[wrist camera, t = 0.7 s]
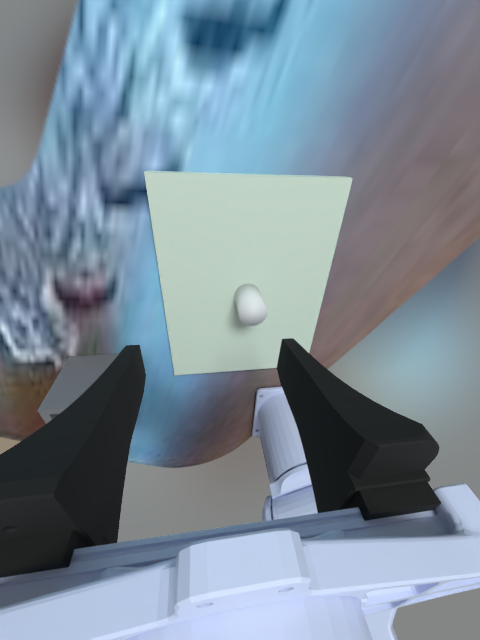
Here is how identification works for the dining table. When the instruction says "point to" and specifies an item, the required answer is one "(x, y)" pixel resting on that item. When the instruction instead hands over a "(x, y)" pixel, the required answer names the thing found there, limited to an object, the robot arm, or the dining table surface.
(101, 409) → the robot arm
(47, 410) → the duct sleeve
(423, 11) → the dining table surface
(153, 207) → the duct base
